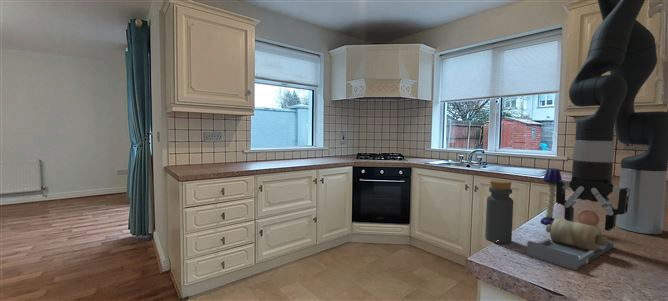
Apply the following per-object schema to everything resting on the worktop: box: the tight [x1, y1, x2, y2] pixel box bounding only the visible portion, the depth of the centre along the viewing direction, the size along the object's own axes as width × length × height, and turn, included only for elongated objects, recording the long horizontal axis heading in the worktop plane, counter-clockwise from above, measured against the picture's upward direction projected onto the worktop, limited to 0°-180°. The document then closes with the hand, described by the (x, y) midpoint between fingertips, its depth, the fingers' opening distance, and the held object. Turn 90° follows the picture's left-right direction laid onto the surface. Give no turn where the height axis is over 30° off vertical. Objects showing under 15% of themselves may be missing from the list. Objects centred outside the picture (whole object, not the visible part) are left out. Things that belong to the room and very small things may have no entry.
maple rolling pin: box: [545, 217, 609, 252], centre depth 71 cm, size 11×6×6 cm, turn 34°
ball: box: [577, 209, 600, 226], centre depth 76 cm, size 4×4×4 cm
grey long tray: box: [526, 238, 615, 271], centre depth 71 cm, size 23×9×3 cm, turn 124°
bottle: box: [484, 179, 514, 245], centre depth 77 cm, size 6×6×15 cm
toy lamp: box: [540, 167, 563, 226], centre depth 91 cm, size 5×5×17 cm
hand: (588, 225), depth 76 cm, fingers open, 7 cm apart
